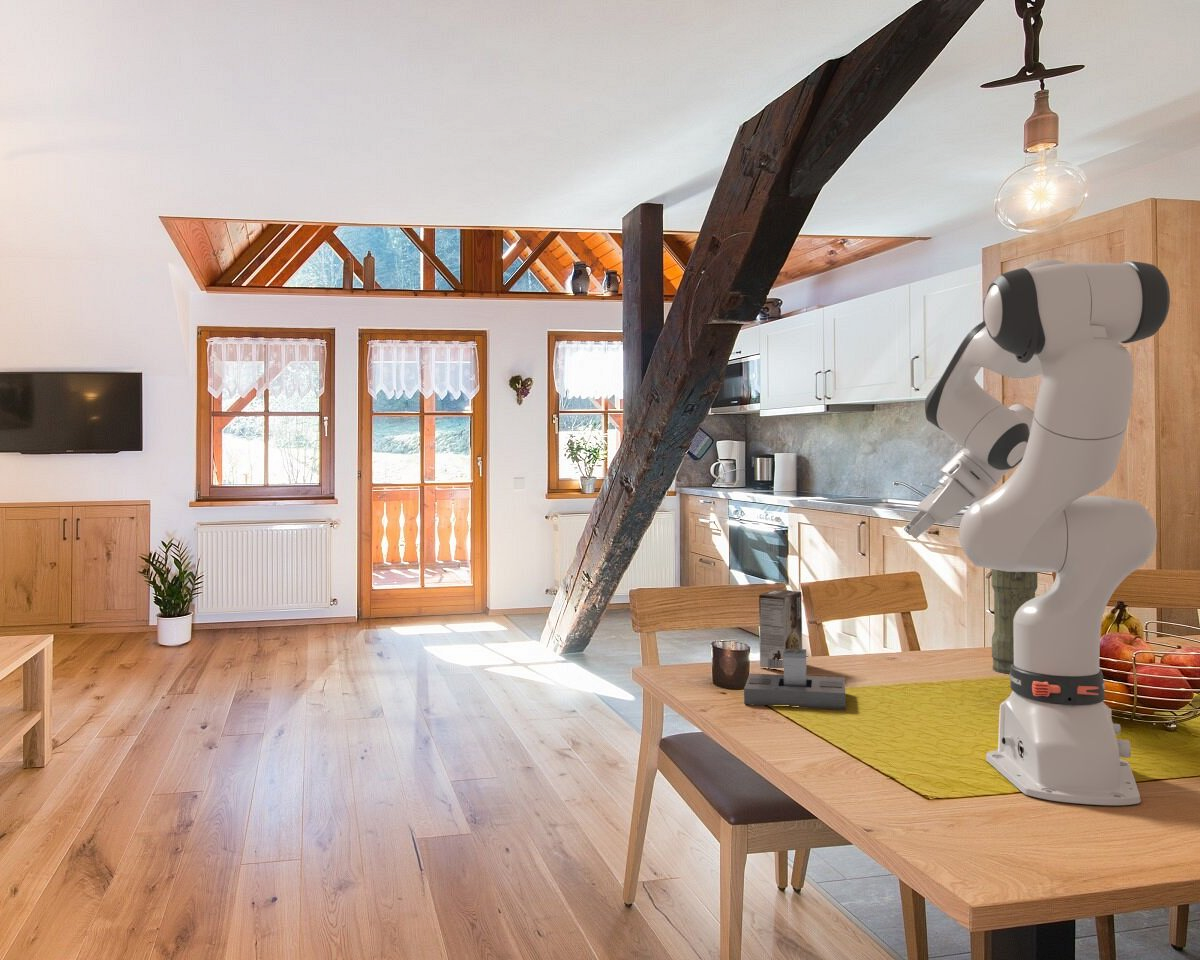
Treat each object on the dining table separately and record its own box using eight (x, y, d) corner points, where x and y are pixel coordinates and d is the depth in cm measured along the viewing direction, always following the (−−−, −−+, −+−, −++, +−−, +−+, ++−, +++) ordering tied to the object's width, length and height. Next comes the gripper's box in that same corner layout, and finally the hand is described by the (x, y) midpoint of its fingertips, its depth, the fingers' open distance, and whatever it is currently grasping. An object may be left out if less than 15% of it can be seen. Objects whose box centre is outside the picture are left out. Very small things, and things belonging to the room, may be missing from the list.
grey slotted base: (845, 709, 159) (845, 692, 159) (744, 704, 163) (743, 687, 163) (844, 693, 170) (844, 676, 170) (749, 688, 175) (749, 672, 175)
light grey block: (806, 702, 164) (805, 654, 164) (783, 701, 165) (783, 653, 165) (807, 696, 168) (806, 649, 168) (784, 695, 169) (784, 648, 169)
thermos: (1027, 664, 192) (1026, 502, 191) (1047, 677, 180) (1045, 505, 180) (984, 663, 193) (983, 502, 193) (1001, 676, 182) (999, 505, 181)
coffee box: (776, 660, 200) (775, 588, 199) (803, 663, 196) (802, 590, 196) (758, 668, 192) (757, 594, 192) (786, 672, 188) (785, 596, 188)
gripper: (944, 469, 172) (891, 519, 175) (960, 467, 153) (901, 524, 155) (968, 491, 171) (916, 542, 174) (988, 492, 152) (928, 549, 154)
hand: (909, 533), depth 164 cm, fingers open, 8 cm apart
